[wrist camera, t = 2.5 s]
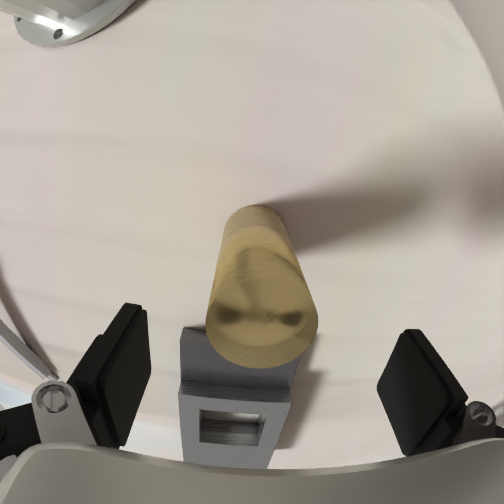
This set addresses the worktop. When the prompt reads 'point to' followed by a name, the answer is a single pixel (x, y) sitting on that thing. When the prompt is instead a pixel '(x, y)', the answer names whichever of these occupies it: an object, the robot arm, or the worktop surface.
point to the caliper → (24, 353)
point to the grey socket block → (229, 405)
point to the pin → (259, 294)
